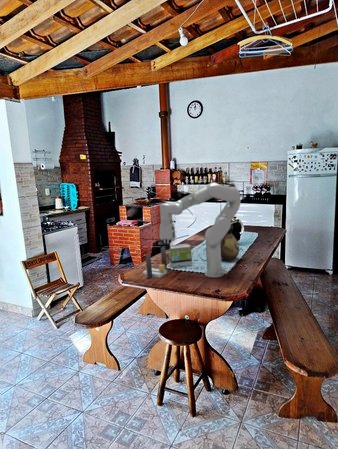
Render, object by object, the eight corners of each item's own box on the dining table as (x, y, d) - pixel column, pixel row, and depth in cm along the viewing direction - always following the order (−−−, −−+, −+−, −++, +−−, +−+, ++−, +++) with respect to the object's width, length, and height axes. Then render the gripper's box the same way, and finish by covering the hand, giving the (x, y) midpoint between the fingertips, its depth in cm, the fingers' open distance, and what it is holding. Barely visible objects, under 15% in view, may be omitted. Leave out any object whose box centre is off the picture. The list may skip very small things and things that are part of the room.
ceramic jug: (239, 263, 221) (238, 222, 215) (218, 263, 224) (216, 223, 218) (239, 255, 237) (238, 217, 231) (219, 256, 240) (217, 218, 234)
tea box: (172, 268, 220) (170, 248, 217) (169, 264, 230) (168, 245, 227) (192, 265, 223) (191, 246, 220) (188, 261, 233) (187, 242, 230)
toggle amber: (165, 270, 211) (164, 264, 210) (162, 271, 208) (162, 266, 207) (161, 269, 212) (161, 264, 211) (159, 271, 210) (158, 265, 209)
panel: (167, 273, 212) (166, 268, 211) (159, 277, 204) (159, 273, 204) (151, 270, 220) (150, 266, 219) (143, 274, 212) (142, 270, 211)
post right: (167, 268, 220) (166, 247, 217) (165, 270, 218) (163, 248, 214) (164, 268, 222) (162, 247, 219) (161, 269, 219) (159, 248, 216)
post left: (153, 277, 206) (151, 254, 203) (150, 278, 203) (148, 255, 200) (149, 276, 208) (147, 253, 205) (146, 278, 205) (144, 255, 202)
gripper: (179, 221, 198) (180, 248, 202) (160, 220, 207) (161, 246, 210) (173, 223, 192) (174, 251, 196) (153, 222, 201) (155, 249, 204)
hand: (167, 249), depth 203 cm, fingers closed
